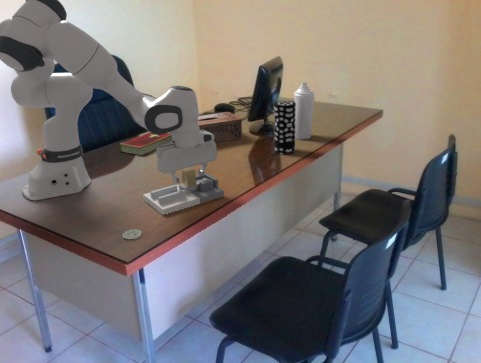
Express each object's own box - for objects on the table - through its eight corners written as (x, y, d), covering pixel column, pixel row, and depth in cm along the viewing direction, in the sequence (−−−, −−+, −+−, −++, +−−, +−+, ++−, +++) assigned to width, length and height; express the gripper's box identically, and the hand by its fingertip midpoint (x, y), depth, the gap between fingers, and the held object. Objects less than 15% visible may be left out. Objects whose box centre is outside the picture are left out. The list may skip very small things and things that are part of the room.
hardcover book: (120, 152, 197) (119, 142, 196) (154, 138, 214) (153, 130, 212) (141, 156, 191) (140, 147, 190) (174, 142, 208) (173, 133, 206)
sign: (110, 219, 138) (145, 232, 130) (110, 222, 139) (145, 235, 130) (95, 227, 134) (131, 240, 126) (96, 229, 135) (131, 243, 127)
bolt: (184, 193, 149) (182, 173, 146) (179, 190, 152) (177, 170, 149) (210, 186, 154) (209, 166, 152) (205, 182, 157) (204, 163, 154)
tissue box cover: (229, 132, 219) (228, 111, 215) (242, 140, 207) (241, 118, 203) (176, 140, 209) (174, 119, 205) (186, 150, 197) (185, 127, 193)
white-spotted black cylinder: (297, 149, 193) (298, 101, 185) (291, 155, 186) (291, 106, 178) (278, 147, 196) (278, 100, 188) (271, 153, 189) (271, 104, 182)
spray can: (320, 137, 207) (322, 80, 198) (305, 143, 200) (307, 84, 190) (299, 132, 215) (300, 77, 205) (284, 137, 208) (285, 81, 198)
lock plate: (163, 215, 141) (161, 200, 139) (143, 200, 151) (141, 185, 149) (223, 196, 152) (223, 182, 150) (201, 183, 163) (200, 169, 161)
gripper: (160, 147, 137) (164, 190, 143) (218, 134, 148) (220, 174, 153) (151, 142, 142) (155, 184, 147) (208, 129, 153) (210, 169, 158)
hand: (189, 179), depth 151 cm, fingers open, 8 cm apart
